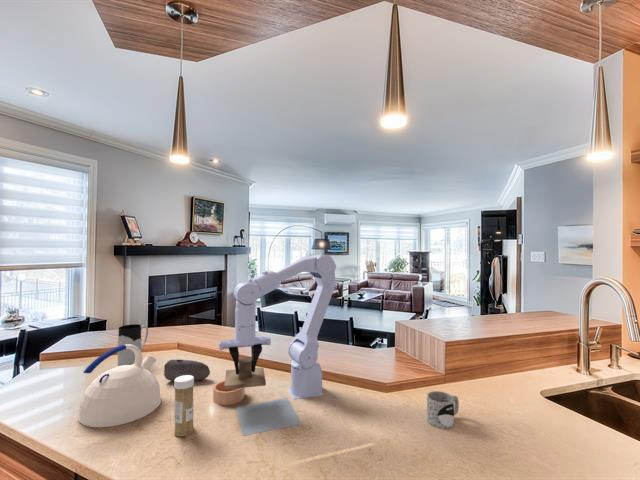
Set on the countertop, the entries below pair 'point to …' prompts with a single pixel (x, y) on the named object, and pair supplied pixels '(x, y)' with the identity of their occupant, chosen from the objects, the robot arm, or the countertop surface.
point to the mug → (441, 409)
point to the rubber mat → (267, 416)
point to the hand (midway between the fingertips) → (245, 371)
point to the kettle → (120, 392)
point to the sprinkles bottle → (183, 405)
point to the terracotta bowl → (227, 394)
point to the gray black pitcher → (130, 342)
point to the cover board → (246, 381)
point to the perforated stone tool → (185, 369)
